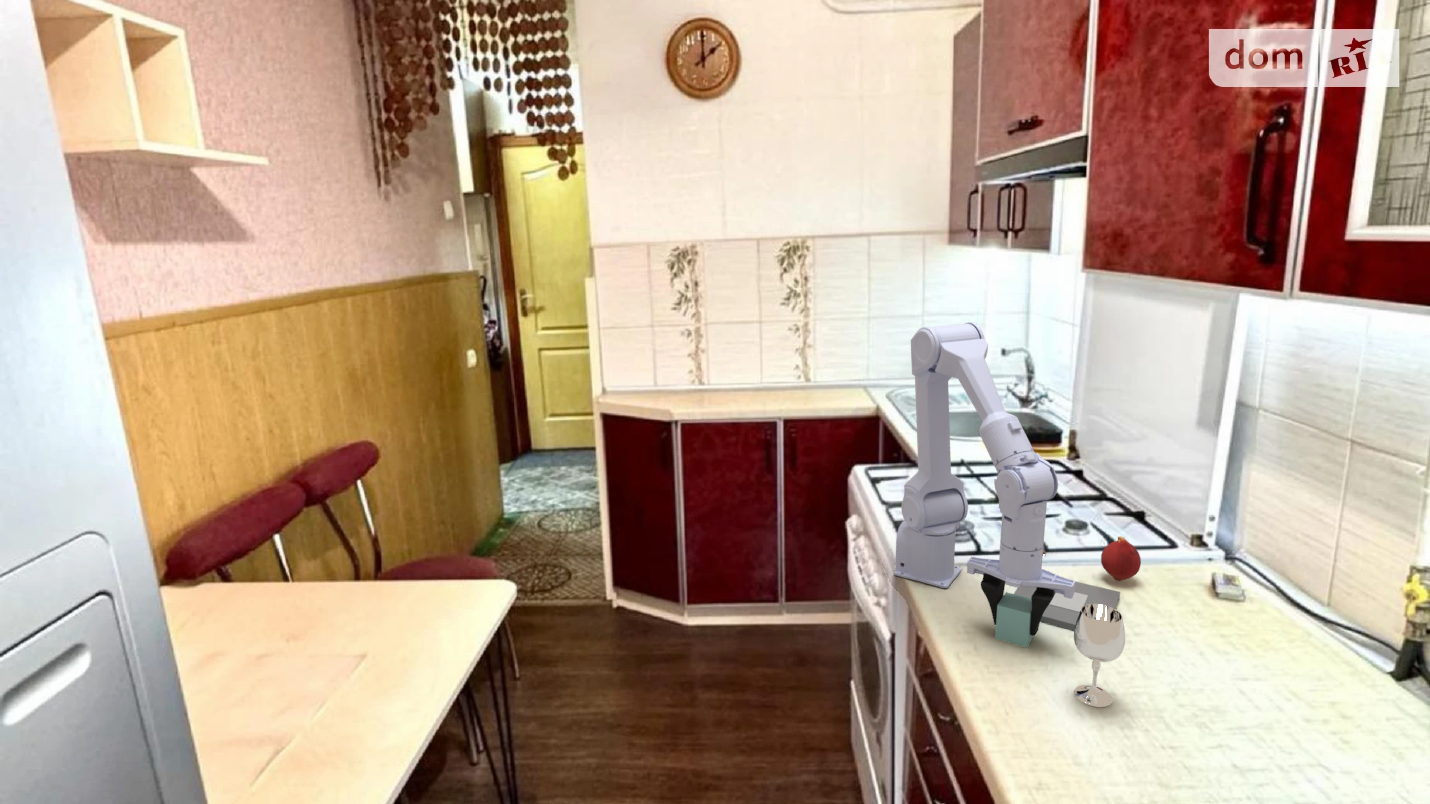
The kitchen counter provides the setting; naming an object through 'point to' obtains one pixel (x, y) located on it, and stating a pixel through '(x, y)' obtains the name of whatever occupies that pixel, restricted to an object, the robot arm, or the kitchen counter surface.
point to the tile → (1072, 603)
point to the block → (1014, 619)
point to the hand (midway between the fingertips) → (1015, 627)
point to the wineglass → (1098, 646)
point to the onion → (1121, 559)
